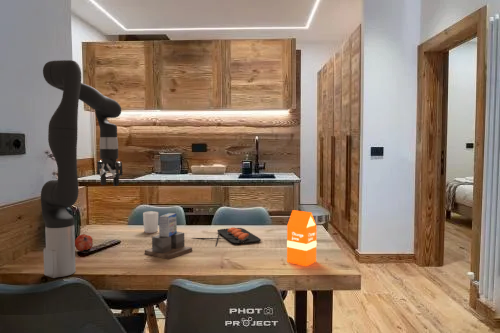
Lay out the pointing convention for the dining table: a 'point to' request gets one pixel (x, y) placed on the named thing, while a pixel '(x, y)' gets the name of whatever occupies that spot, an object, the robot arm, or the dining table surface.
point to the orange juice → (301, 238)
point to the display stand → (168, 246)
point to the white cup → (150, 221)
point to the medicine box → (167, 225)
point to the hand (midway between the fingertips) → (109, 185)
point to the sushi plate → (236, 236)
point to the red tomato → (83, 242)
